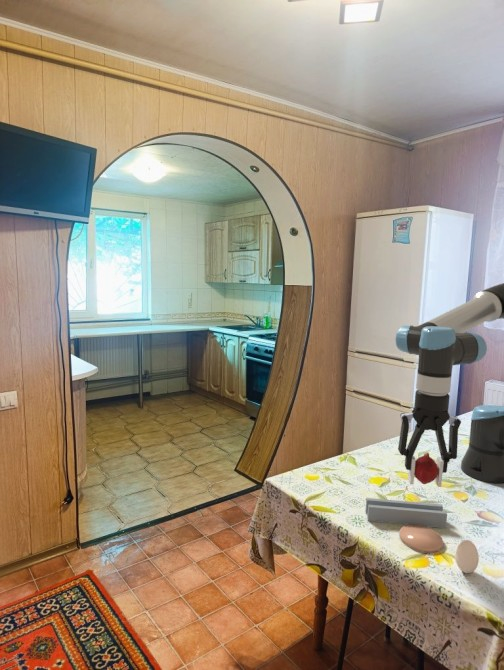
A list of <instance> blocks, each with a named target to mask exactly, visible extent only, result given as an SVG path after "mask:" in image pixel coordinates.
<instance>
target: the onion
mask: <svg viewBox="0 0 504 670" xmlns="http://www.w3.org/2000/svg"><path fill="white" fill-rule="evenodd" d="M437 475H438V466H437V462H436V461H435V460H434V459H433V458H432V457H431V456H430V453H429V452H424V455H422V456H419V457H418V458H417V459H416V461H415V472H414V478H416V479H417V481H419V483H421V484H422V485H427V484H430V483H432V482H434V481H435V479H436V477H437Z"/></svg>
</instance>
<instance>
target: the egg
mask: <svg viewBox="0 0 504 670" xmlns="http://www.w3.org/2000/svg"><path fill="white" fill-rule="evenodd" d="M454 557H455V563H456V565H457V567H458V569H459V570H460V571H462V572H463V573H466V574H470V573H473V572H474V571H476V569H477V568H478V565H479V561H480V559H479V558H480V557H479V552H478V548H477V546H476V545H475V543H473V542H472V541H471V540H469V539H466V540H462V541H460V543H459V544H458V546H457V547H456V550H455V554H454Z"/></svg>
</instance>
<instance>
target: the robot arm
mask: <svg viewBox="0 0 504 670" xmlns="http://www.w3.org/2000/svg"><path fill="white" fill-rule="evenodd" d="M500 319H501V320H503V319H504V283H499V284H496V285H494V286H490V287H488V288H486V289H483V290H480V291H479V292H477V293H476V294H474V296H472V298H471V299H470V300H469V301H466V302H465V303H463V304H460V305H458V306H456V307H454V308H452V309H450V310H449V311H446V312H444V313H441V314H440V315H438V316H436V317H433V318H431V319H430V320H428V321H426V322H424V323H422V324H418V325H416V326H414V325H413V324H412V325H411V324H410V325H403V326H401V327H400V328H399V329H398V330H397V332H396V333H395V334H396V335H395V345H396V347H397V349H398V350H399V351H401V352H404V353H407V354H410V355H416V356H418V363H417V364H418V365H417V366H418V367H417V375H416V385H415V389H417V390H416V391H415V394H414V395H415V396H414V407H413V409H412V411H411V412H409V413H408V412H407V413H405V412H401V413H400V415H399V416H400V421H401V427H400V432H399V441H398V447H397V450H398V452H399V454H400V455H401V456H404V457H405V458H404V459H405V460H404V467H405V469H406V470H407V481H408V483H409V484H410V485H411V486H412V485H414V484H415V482H414V480H415V476H414V472H415V461H416V460H417V459H416V457H415V456H414V455H415V452H416V450H417V447H418V445H419V443H420V441H421V438H422V436H423V434H424V433H425V431H429V430H430V431H434V432H435V437H436V442H437V445H438V448H439V454H440V456H436V464H437V466H438V475H437V477H436V479H435V480H434V482H435V485H436V486H437V488H442V483H443V473H445V474H446V473H447V472H448V464H449V463H450V461H451V460H456V459H457V458H458V442H459V441H458V440H459V439H458V438H459V429H460V426H461V424H462V420H461V419H460V418H459V417H458V416H451V415H450V413H449V407H450V394H449V393H450V392H451V386H452V373H453V366H457V365H458V366H459V365H466V364H467V365H470V364H473V363H478V362H479V361H481V360H482V359H483V358H485V357H486V354H487V350H488V348H487V342H486V341H485V339H484V338H483V336H481V335H480V334H477V333H476V332H475V333H474V332H468V331H471V330H472V329H474V328H476V327H478V326H479V325H481V324H483V323H485V322H486V323H487V322H490V323H491V322H493V321H496V320H500ZM412 419H414V421H415V423H416V424H415V426H414V430H413V432H412V435H411V437H410V439H409V442H408V437H409V429H410V423H411V422H412ZM470 421H471V422H470V430H469V442H468V448H467V450H466V452H465V454H463V457H462V460H461V463H460V469H461V471H462V472H463V473H465V474H466V475H467V476H469V477H471V478H474V479H476V480H479V481H482V482H486V483H492V484H504V405H499V404H497V405H496V404H482V405H477V406H475V407H474V408H473V410H472V413H471V417H470ZM447 422H448V425H449V428H448V429H449V430H448V449H447V444H446V440H445V436H444V430H443V426H444V425H445V424H446V423H447ZM407 443H408V444H407Z"/></svg>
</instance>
